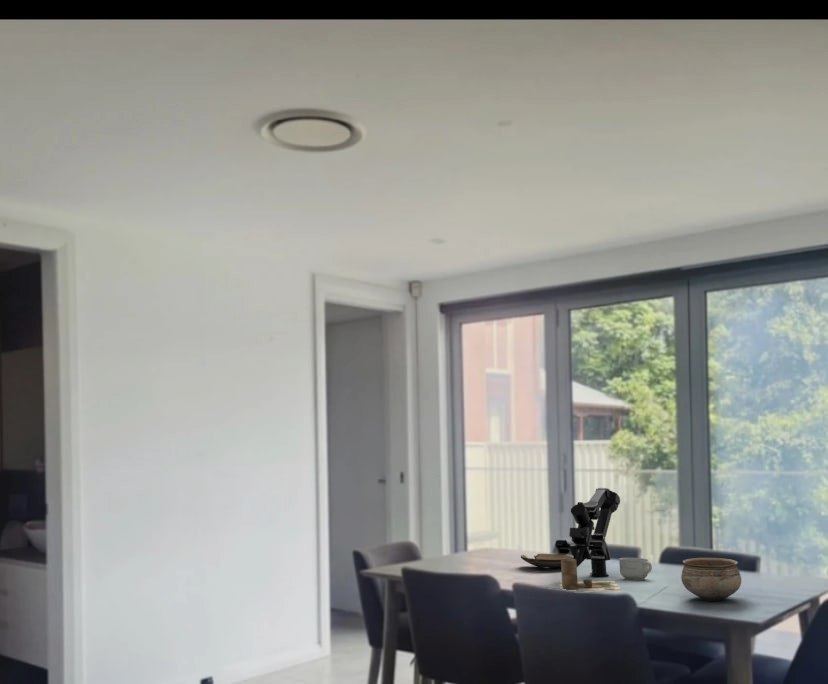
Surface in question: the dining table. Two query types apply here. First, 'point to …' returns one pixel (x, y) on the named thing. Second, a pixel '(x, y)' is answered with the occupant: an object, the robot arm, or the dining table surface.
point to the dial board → (599, 587)
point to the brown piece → (574, 576)
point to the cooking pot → (711, 577)
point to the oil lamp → (547, 560)
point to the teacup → (634, 568)
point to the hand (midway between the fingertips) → (575, 566)
